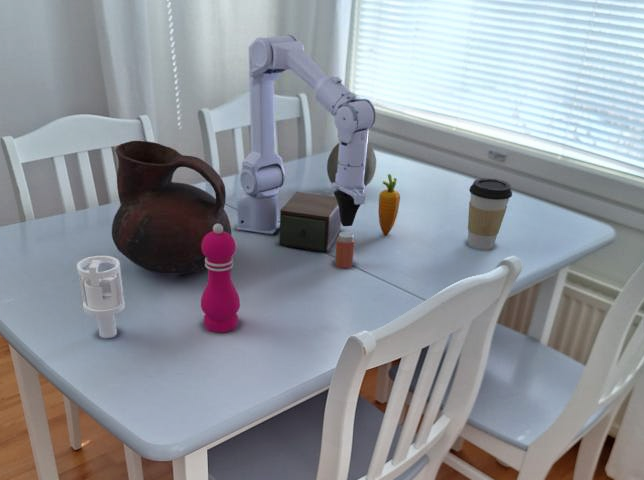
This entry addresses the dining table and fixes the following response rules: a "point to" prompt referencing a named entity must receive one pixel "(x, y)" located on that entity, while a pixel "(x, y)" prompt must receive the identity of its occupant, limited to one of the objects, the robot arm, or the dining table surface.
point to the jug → (164, 209)
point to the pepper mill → (219, 282)
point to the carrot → (388, 206)
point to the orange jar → (344, 250)
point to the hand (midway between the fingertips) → (346, 225)
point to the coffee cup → (486, 211)
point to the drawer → (303, 231)
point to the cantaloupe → (369, 165)
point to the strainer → (102, 292)
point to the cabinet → (315, 213)
